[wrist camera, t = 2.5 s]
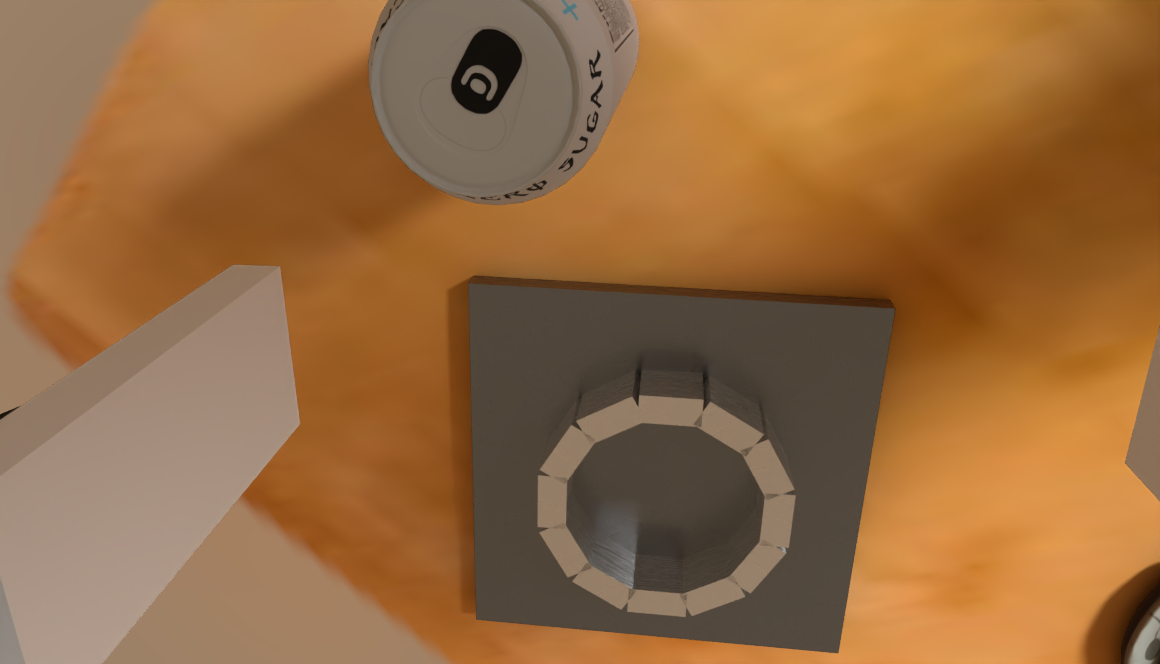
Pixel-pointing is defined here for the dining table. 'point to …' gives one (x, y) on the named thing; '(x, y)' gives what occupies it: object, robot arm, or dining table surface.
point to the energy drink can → (499, 89)
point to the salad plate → (1144, 633)
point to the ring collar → (671, 457)
